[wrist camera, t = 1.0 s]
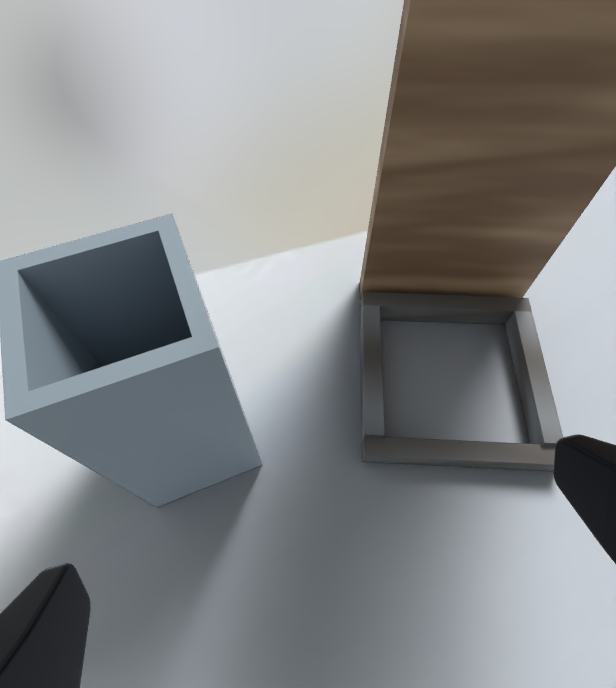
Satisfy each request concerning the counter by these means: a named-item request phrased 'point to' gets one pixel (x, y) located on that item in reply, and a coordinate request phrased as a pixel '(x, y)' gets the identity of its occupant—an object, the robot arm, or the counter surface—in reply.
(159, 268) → the sleeve
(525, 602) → the counter surface
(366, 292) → the wooden c-shaped stand
